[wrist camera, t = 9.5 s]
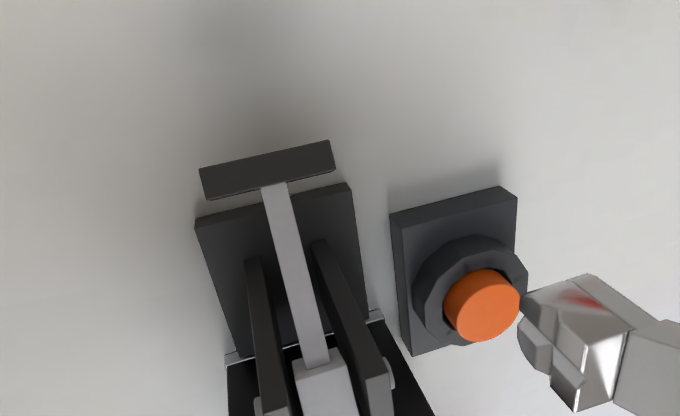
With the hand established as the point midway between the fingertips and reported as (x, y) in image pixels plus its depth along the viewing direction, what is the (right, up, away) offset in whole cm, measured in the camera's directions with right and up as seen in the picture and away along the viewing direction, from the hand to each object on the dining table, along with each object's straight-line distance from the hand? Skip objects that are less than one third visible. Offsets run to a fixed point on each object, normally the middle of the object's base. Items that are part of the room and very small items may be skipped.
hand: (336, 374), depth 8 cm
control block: (+8, -1, +23) cm, 24 cm away
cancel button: (+9, -2, +19) cm, 21 cm away
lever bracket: (-3, -1, +19) cm, 19 cm away
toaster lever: (-2, 0, +11) cm, 12 cm away
